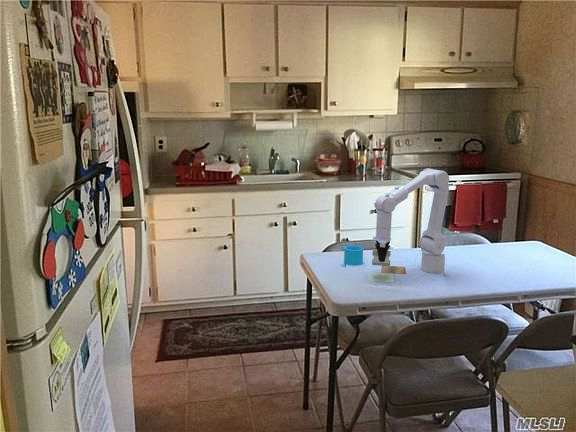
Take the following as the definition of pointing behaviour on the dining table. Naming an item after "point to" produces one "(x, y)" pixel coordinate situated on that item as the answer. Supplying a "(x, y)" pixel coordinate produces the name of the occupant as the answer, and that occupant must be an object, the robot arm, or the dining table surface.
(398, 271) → the stand
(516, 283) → the dining table surface
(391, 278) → the stand
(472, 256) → the dining table surface
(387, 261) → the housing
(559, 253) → the dining table surface
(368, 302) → the dining table surface
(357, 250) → the mug
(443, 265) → the robot arm
